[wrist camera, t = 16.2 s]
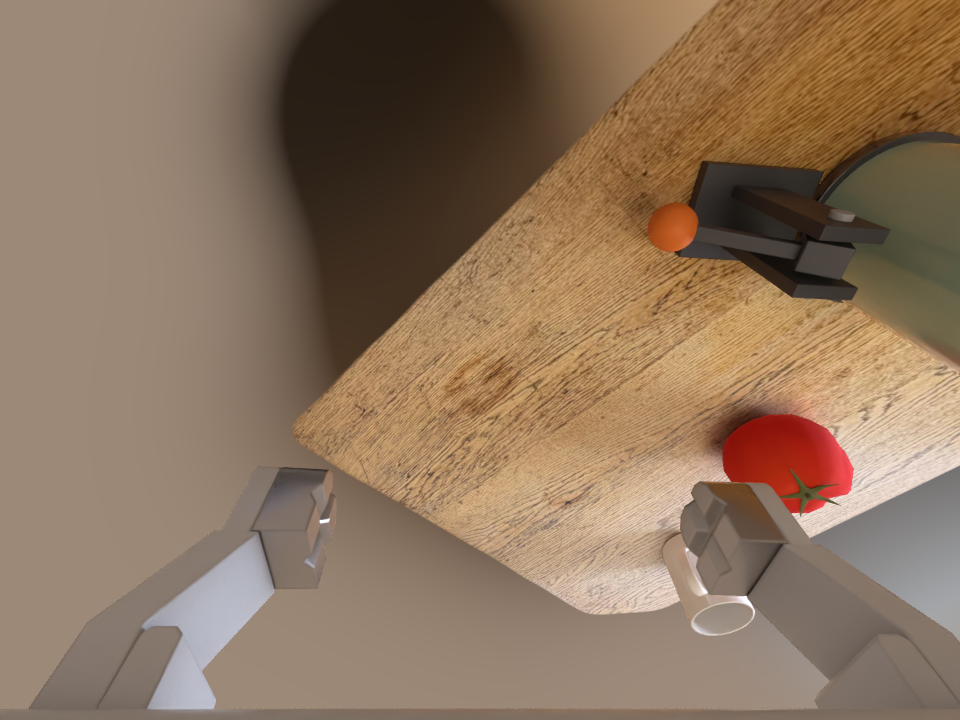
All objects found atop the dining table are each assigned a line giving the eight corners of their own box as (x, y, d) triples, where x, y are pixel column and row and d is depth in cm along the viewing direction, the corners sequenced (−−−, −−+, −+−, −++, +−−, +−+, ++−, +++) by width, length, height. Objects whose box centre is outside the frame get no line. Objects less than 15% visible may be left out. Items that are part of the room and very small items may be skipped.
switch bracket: (674, 252, 43) (744, 315, 32) (702, 160, 39) (794, 197, 28) (776, 259, 44) (878, 322, 33) (815, 169, 40) (947, 208, 29)
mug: (725, 548, 68) (764, 620, 59) (675, 569, 70) (706, 642, 61) (689, 505, 62) (727, 578, 54) (637, 530, 65) (665, 603, 56)
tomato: (794, 464, 59) (851, 533, 50) (696, 466, 58) (736, 536, 50) (831, 394, 53) (903, 458, 44) (722, 395, 52) (773, 460, 44)
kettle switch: (646, 239, 38) (638, 251, 36) (658, 194, 37) (651, 203, 34) (828, 276, 34) (836, 293, 31) (853, 227, 32) (864, 240, 29)
